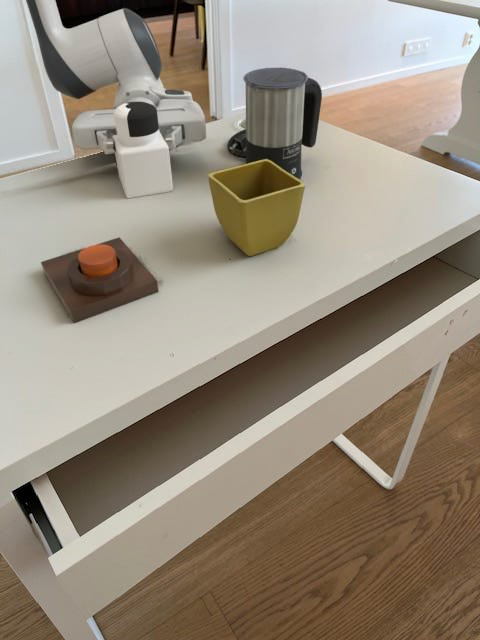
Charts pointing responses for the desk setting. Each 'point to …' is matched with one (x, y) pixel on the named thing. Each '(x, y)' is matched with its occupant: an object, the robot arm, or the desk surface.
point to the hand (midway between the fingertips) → (140, 146)
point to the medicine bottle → (141, 151)
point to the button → (97, 260)
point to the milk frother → (278, 118)
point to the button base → (99, 282)
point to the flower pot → (256, 204)
